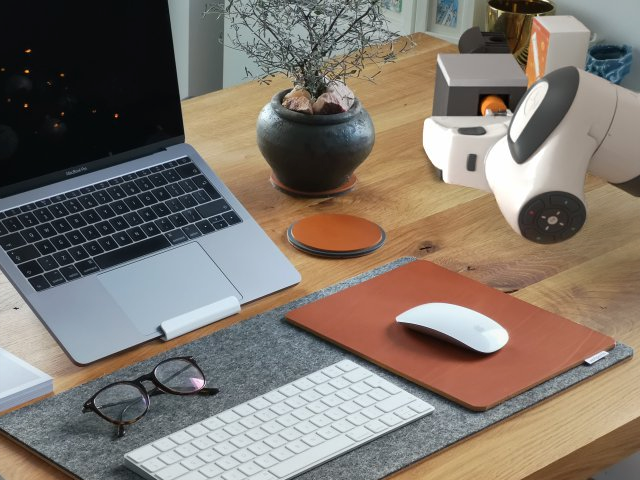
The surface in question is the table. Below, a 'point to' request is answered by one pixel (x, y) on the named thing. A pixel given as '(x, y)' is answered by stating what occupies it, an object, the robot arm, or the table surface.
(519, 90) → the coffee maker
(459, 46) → the end cap
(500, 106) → the power button
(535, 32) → the small box
